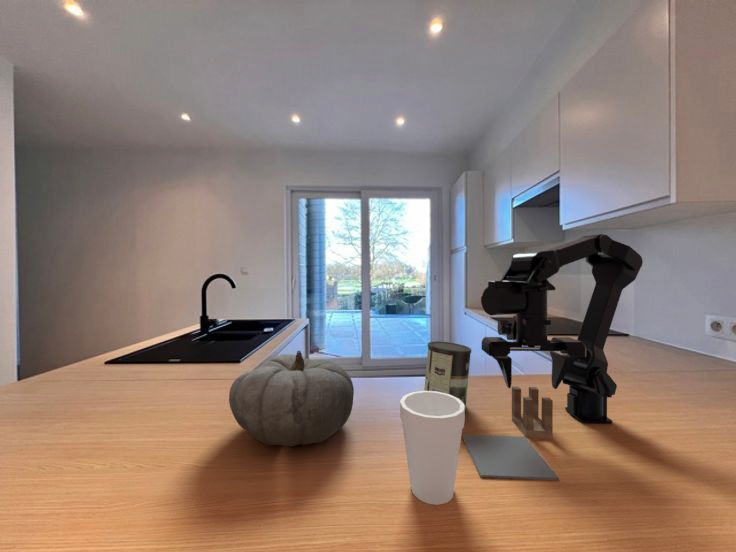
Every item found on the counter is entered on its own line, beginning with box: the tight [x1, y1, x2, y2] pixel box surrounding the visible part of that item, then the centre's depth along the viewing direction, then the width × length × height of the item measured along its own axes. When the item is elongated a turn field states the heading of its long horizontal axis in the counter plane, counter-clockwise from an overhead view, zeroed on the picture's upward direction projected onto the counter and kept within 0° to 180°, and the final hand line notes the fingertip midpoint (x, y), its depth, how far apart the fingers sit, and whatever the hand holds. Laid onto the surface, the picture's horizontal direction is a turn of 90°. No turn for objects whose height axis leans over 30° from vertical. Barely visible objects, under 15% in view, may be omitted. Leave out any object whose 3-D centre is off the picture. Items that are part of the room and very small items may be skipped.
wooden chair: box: [511, 386, 554, 439], centre depth 63 cm, size 7×5×8 cm
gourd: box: [228, 350, 355, 447], centre depth 64 cm, size 25×25×17 cm
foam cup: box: [399, 390, 466, 506], centre depth 46 cm, size 10×9×13 cm
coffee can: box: [423, 341, 472, 410], centre depth 74 cm, size 10×10×14 cm
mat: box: [461, 434, 560, 481], centre depth 54 cm, size 12×12×1 cm
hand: (531, 387), depth 63 cm, fingers open, 9 cm apart
